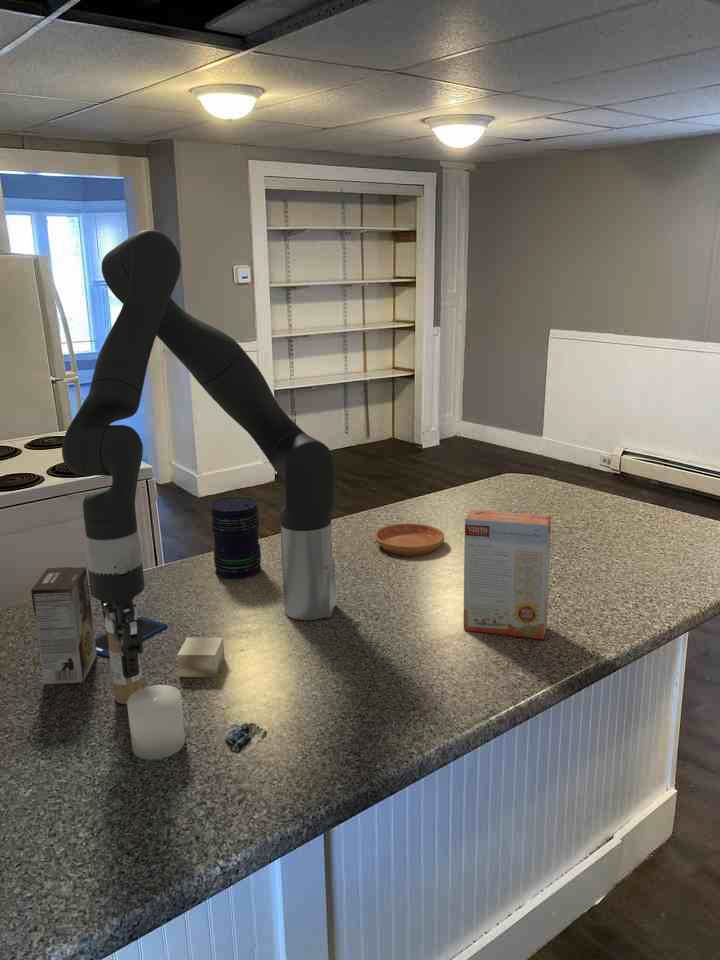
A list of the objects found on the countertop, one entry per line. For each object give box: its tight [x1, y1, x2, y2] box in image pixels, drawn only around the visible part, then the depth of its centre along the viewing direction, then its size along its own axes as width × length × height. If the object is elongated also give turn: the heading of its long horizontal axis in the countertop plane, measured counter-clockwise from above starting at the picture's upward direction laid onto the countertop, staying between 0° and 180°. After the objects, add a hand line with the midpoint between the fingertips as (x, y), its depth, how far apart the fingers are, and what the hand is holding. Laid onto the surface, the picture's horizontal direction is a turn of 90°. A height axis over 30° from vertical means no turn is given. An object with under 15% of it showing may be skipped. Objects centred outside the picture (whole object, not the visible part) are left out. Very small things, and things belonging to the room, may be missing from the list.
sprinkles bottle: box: [104, 616, 144, 705], centre depth 117 cm, size 5×5×14 cm
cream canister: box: [126, 684, 186, 761], centre depth 106 cm, size 7×7×7 cm
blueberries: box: [219, 722, 268, 753], centre depth 107 cm, size 7×8×2 cm
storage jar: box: [210, 496, 262, 581], centre depth 165 cm, size 10×10×15 cm
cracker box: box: [463, 509, 552, 640], centre depth 135 cm, size 14×6×21 cm, turn 71°
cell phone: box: [95, 616, 168, 659], centre depth 138 cm, size 7×14×1 cm, turn 148°
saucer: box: [374, 523, 445, 556], centre depth 180 cm, size 16×16×3 cm
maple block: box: [176, 636, 226, 678], centre depth 126 cm, size 6×6×4 cm
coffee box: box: [30, 566, 98, 685], centre depth 125 cm, size 9×6×16 cm
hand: (126, 668), depth 117 cm, fingers closed on sprinkles bottle, 4 cm apart
